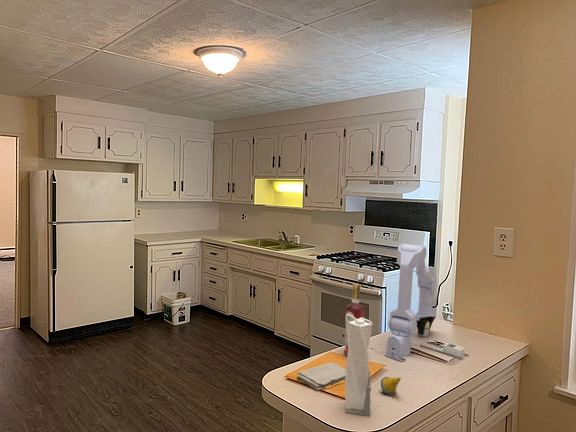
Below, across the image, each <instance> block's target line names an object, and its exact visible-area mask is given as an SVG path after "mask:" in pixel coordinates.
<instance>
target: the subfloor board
mask: <svg viewBox="0 0 576 432" xmlns="http://www.w3.org/2000/svg"><path fill="white" fill-rule="evenodd" d="M426 344H428V345H432V346H434V347H436V348H441V349H443V345H439V344H437V343H433V342H430V341H426ZM419 347H422V348H424V349H426V350H430V351H432V352H437V353H439V354H443V355H445V356H448V357H452V358H455V359H458V360H461V361H462V360H463V357H461V358H460V357H457V356H454V355H451V354H448V353H445V352H443V350H442V351H441V350H439V349H435V348H432V347H429V346H427V345H426V346H425V345H424V344H419ZM464 357H469V353H468V354H467V353H465V356H464Z"/></svg>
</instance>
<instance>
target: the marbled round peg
mask: <svg viewBox="0 0 576 432" xmlns="http://www.w3.org/2000/svg"><path fill="white" fill-rule="evenodd" d="M424 320H425V319H424ZM429 324H430V321H429V320H427V323H426V325H425V330H424V334H423V335H420V334H418V333H417V334H418V335H417V336H419V337H421V338H429V336H430V331H429Z"/></svg>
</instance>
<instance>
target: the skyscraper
mask: <svg viewBox="0 0 576 432" xmlns="http://www.w3.org/2000/svg"><path fill="white" fill-rule="evenodd" d="M347 316H350V317H352V318H354V319H355V321H351V322H348V317H347ZM346 318H347V333H348V355H346V362H345V369H346V373H345V382H344V384H345V385H344V387H345V388H344V389H345V391H344V392H345V395H344V397H345V414H351V415H356V416H357V415H358V416H363V417H364V416H366V417H371V402H372V401H371V391H372V386H371V377H370V376H371V375H370V374H371V371H370V359H369V353H368V348H369V343H370V339H371V335H372V330H373V326H374V325H373V322H372V321H371V320H370V319H367V318H365V317H364V318H362V317H360V319H356V318H355V317H354V316H352V315H350V314H346V313H345V319H346Z"/></svg>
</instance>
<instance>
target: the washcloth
mask: <svg viewBox="0 0 576 432" xmlns="http://www.w3.org/2000/svg"><path fill="white" fill-rule="evenodd" d="M345 373H346V367H345V368H344V367H342V366H341V365H339V364H337V363H334V362H332V361H331V362H326V363H324V364H320V365H317V366H314V367H309V368H307V369H303V370H299V371H298V372H297V373H296V374H297V376H296V379H298V380H299V379H300V380H299V382H301V381H302V382H301V383H303V384H305V385H307V386H308V387H310V388H312V389H314V390H316V391H322V390H321V389H323V388H325V387H327V386H329V385H333V384H335V383H338V382H340V381H342V380H345ZM323 390H324V389H323Z"/></svg>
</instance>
